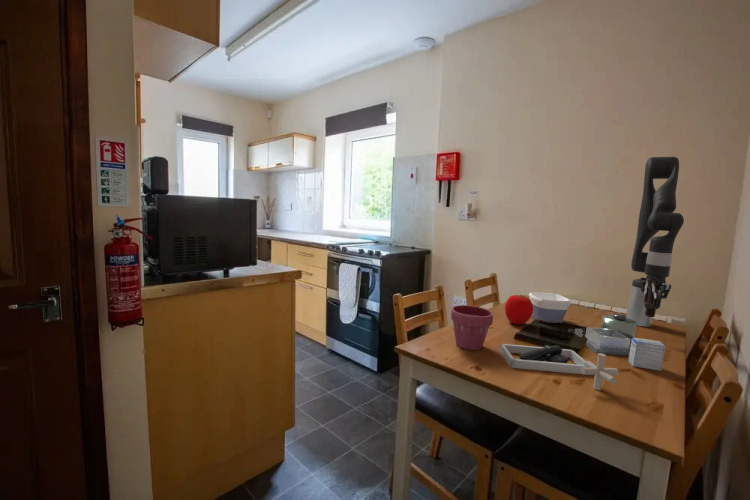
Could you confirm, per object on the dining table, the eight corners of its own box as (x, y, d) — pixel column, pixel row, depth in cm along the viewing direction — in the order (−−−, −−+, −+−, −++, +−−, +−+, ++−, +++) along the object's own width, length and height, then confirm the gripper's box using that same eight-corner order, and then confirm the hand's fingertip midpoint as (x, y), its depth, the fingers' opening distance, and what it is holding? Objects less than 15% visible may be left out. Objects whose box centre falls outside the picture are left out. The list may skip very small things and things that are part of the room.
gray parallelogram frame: (499, 350, 120) (500, 343, 120) (571, 356, 119) (572, 349, 118) (511, 367, 107) (511, 359, 107) (591, 375, 106) (592, 367, 105)
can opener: (553, 357, 118) (555, 341, 117) (570, 366, 112) (572, 349, 111) (510, 361, 112) (512, 344, 112) (526, 371, 106) (528, 354, 105)
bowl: (572, 326, 151) (575, 302, 150) (536, 324, 152) (539, 299, 150) (554, 315, 167) (557, 293, 165) (522, 313, 167) (525, 291, 165)
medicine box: (655, 366, 115) (659, 341, 114) (661, 371, 111) (666, 345, 110) (627, 361, 118) (631, 336, 117) (632, 366, 114) (636, 341, 113)
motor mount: (567, 331, 145) (570, 307, 144) (622, 335, 143) (626, 312, 142) (596, 353, 123) (600, 325, 122) (661, 358, 122) (666, 331, 120)
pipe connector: (568, 379, 102) (573, 346, 101) (600, 379, 103) (605, 347, 102) (592, 398, 92) (598, 362, 91) (627, 398, 93) (633, 363, 92)
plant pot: (466, 335, 133) (469, 302, 132) (498, 348, 122) (502, 313, 120) (440, 341, 125) (443, 307, 124) (471, 356, 114) (475, 319, 112)
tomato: (497, 320, 154) (500, 292, 152) (515, 318, 159) (518, 290, 157) (517, 329, 144) (521, 299, 142) (536, 326, 149) (539, 297, 147)
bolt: (652, 314, 141) (659, 278, 139) (661, 319, 136) (668, 281, 134) (637, 313, 142) (643, 277, 139) (646, 317, 137) (652, 280, 134)
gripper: (682, 267, 128) (675, 312, 131) (655, 261, 143) (648, 301, 145) (661, 266, 129) (654, 310, 131) (636, 260, 143) (629, 300, 146)
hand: (651, 305), depth 138 cm, fingers closed on bolt, 4 cm apart
